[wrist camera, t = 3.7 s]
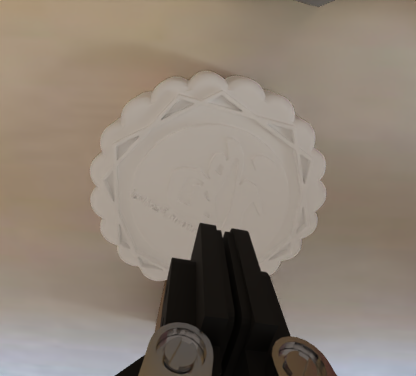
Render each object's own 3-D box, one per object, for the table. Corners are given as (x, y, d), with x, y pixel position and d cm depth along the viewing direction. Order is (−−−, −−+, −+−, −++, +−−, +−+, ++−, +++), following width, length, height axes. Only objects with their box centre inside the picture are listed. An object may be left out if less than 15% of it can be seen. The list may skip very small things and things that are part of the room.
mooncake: (349, 153, 17) (386, 175, 14) (228, 288, 21) (234, 330, 18) (177, 17, 14) (172, 4, 11) (69, 203, 18) (41, 235, 15)
